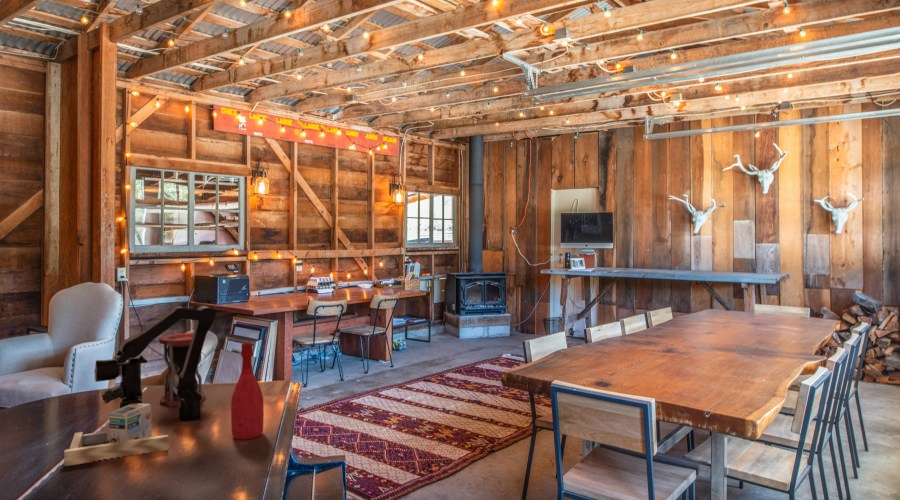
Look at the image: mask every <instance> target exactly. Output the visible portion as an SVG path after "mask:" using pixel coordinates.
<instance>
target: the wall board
mask: <svg viewBox="0 0 900 500" xmlns="http://www.w3.org/2000/svg"><path fill="white" fill-rule="evenodd" d="M83 433H84V431H79V432H74V434H73V435H74V436H73V438H72V441H71V443H70V446H69V448H67V449H64V451H63V453H64V454H63V456H64V458H63V459H64V460H63V462H64V464H63V465H64V467H66V466H67V467H69V466H75V465H80V464H88V463H93V461H95V462H99V461H98V460H101V461H104V460H103V459H107V460H111V459H110V458H114V459H117V458H116V457H120V458H123V457H122V456H126V457H130V456H129V455H133V456H136V455H135V454H139V455H143V454H142V453H146V454H150V452H152V453H157V452H164V451H169V435H168V434H164V435H157V436H151V437H148V438H142V439H135V440H128V441H121V442H114V443H110V442H106V443H99V444H92V445H86V446H83V435H84V434H83Z"/></svg>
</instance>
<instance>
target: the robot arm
mask: <svg viewBox="0 0 900 500" xmlns="http://www.w3.org/2000/svg"><path fill="white" fill-rule="evenodd" d="M216 317H217V313H216V311H215V310H214V309H213V308H210V307H209V306H205V305H202V306H199V307H185V306H184V307H182V306H176V307H174V308H173V309H172V310H171V311H169V312H168V313H167V314H166V315H164V316H162V317H161V318H160V319H158V320H157V321H156V322H155V323H153V324H152V325H150V326H149V327H147V328H146V329H145V330H143V331H141V332H139V333H136V334H134V335H131V336H130V337H128V338H126V339H124V340H123V341H121V342H120V345H119V350H118V351H117V353H116V354H115V355H114V357H112V359H109V358H108V359H95V365H94V366H95V367H94V371H93V372H94V381H95V383H97V382H105V381H112V380H113V381H114V380H116V378H118V377H120V379H121V380H120V382H119V383H120V384H118V385H115V386H112V387H111V388H108V389H106V390H104V391H102V392H101V398H102V400H103V402H104V404H108V403H111V401H114V400H116V399H118V398H120V399H121V400H120V401H119V408H122V407H124V406H127V405H130V404H134V403H142V404H143V388H142V368H141V367H142V366H141V365H142V364H145V363H148V360H147V359H146V358H144V356H143V355H142V353H143V352H144V351H145V349H147V347H148V346H149V345H150V343H151V342H153V341H154V340H155V339H157V338H158V337H159V336H160V335H162V334H163V333H164V332H166V331H167V330H168V329H170V328H171V327H173V326H174V325H175V324H177V323H178V322H179V321H181V320H192V321H193V332H192V333H193V336H192V339H191V343H190V346H189V350H188V353H187V357H186V360H185V364H184V367H183V370H182V372H181V373H180V374H179V375H178V374H175V379H174V382H173V384H172V386H173V390H174V392H175V394H176V395H177V396H178V397H180V398H181V399H182V400H180V405H179V406H177V407H178V419H180V422H186V421H187V422H188V421H192V420H194V421H195V420H200V419H202V415H201V402H202V401H201V398H202V396H201V395H200V394H199V393H198V392H197V391H196V390H195V385H196V379H197V375H196V374H195V373H196V369H197V365H198V362H199V358H200V355H201V356H202V351H203V347H204V343H205V340H206V336H207V335H208V332H210V331H209V330H211V328H212V327H213V325H214V322H215V320H216ZM198 366H199V365H198ZM120 370H121V371H120ZM120 374H121V375H120ZM200 401H201V402H200Z"/></svg>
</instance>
